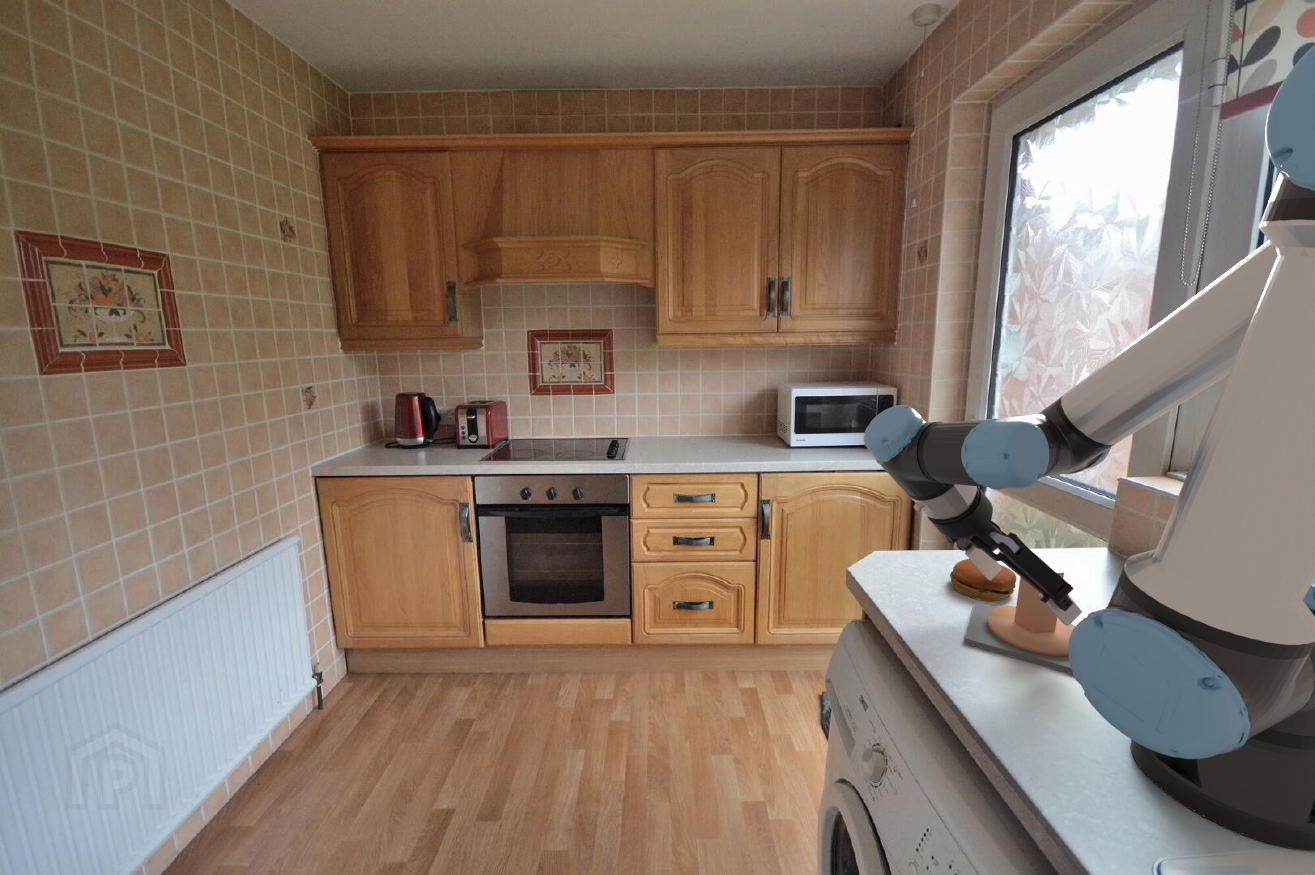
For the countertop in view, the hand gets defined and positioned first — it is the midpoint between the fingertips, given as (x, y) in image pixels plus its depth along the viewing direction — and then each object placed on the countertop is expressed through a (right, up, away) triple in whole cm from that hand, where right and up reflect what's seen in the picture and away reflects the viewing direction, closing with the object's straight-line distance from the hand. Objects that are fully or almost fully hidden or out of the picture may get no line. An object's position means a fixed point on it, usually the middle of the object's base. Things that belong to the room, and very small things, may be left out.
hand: (1030, 594), depth 82 cm
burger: (+2, -4, +16) cm, 16 cm away
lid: (0, -6, 0) cm, 6 cm away
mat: (-1, -6, 0) cm, 7 cm away
